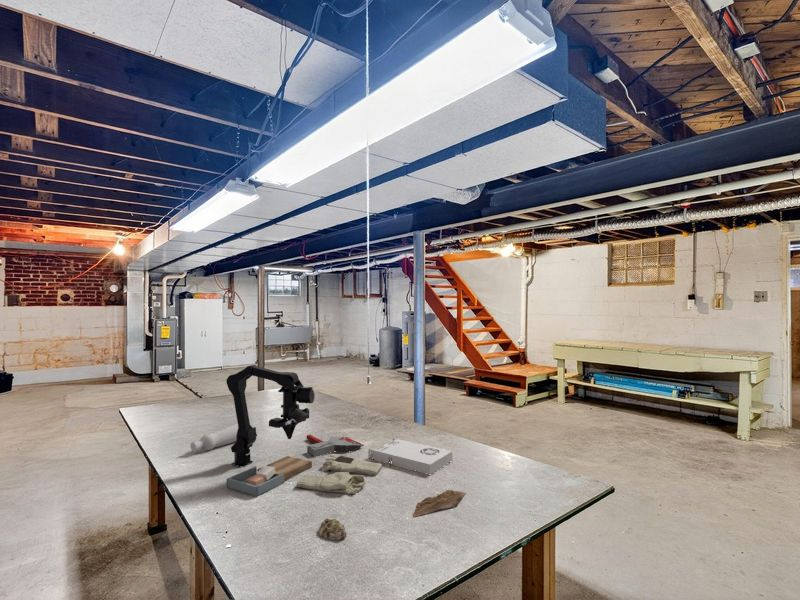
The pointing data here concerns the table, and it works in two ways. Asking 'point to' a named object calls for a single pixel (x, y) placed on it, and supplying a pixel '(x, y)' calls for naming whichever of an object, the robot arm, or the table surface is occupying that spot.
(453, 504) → the wooden fragment
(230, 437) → the bottle
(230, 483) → the tray
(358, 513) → the table surface
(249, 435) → the robot arm
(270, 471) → the cream tile
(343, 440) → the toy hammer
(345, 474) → the pair of gloves
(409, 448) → the power supply unit
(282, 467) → the board
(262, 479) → the terracotta tile
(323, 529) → the mineral rock
